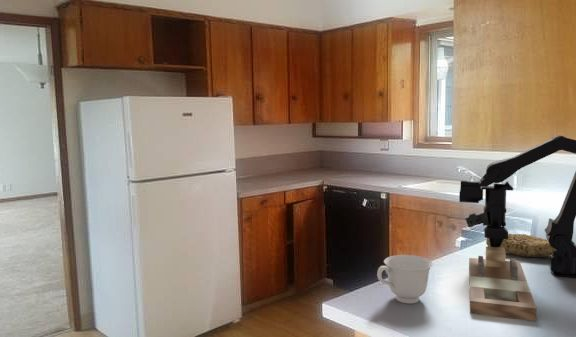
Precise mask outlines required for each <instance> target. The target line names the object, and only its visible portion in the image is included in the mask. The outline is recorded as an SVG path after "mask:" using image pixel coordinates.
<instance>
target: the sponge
mask: <svg viewBox="0 0 576 337" xmlns="http://www.w3.org/2000/svg"><path fill="white" fill-rule="evenodd" d="M485 243H486V247H491V246H490V240H489V238H486V241H485ZM500 248H505V252H506V254H511V255H516V256H521V257H530V258H531V257H534V258H535V257H536V258H542V257H550V256H552V251H556V249H554V248H553V247H551V245H550V244H549V242H548V240H547V238H546V239H545V238H542V237H537V236H534V235H530V234H529V235H528V234H526V233H525V234H524V233H513V234H512V233H508V239H504V240H503V242H502V244H501V246H500Z"/></svg>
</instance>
